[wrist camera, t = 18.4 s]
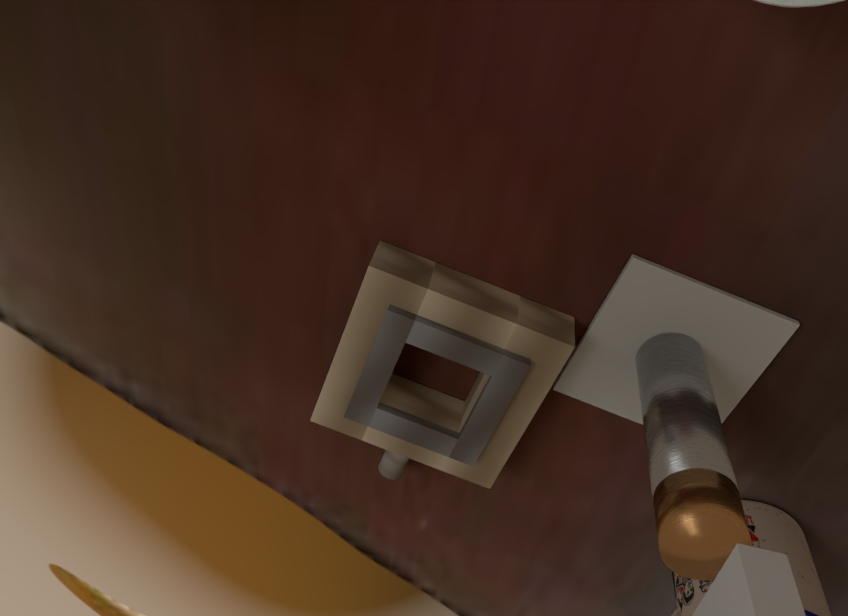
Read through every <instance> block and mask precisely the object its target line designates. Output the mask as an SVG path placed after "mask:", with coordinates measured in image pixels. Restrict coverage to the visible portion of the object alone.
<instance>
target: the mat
mask: <svg viewBox="0 0 848 616" xmlns="http://www.w3.org/2000/svg"><path fill="white" fill-rule="evenodd" d="M799 326H800V324H799V322H798V321H797V320H794V319H792V318H789V317H787V316H784V315H782V314H779V313H777V312H774V311H772V310H770V309H767V308H765V307H762V306H760V305H757V304H755V303H752V302H750V301H747V300H745V299H742V298H740V297H737V296H735V295H733V294H730V293H728V292H725V291H723V290H720V289H718V288H715V287H713V286H710V285H708V284H705V283H703V282H701V281H698V280H696V279H693V278H691V277H688V276H686V275H683V274H681V273H678V272H676V271H673V270H671V269H668V268H666V267H664V266H661V265H659V264H656V263H654V262H651V261H649V260H646V259H644V258H641V257H639V256H636V255H634V254H632V255H631V257H630V259H629V260H628V262H627V264H626V265H625V267H624V269H623V270H622V272H621V274H620V275H619V277H618V279H617V280H616V282H615V284H614V285H613V287H612V289H611V290H610V292H609V294H608V295H607V297H606V299H605V300H604V302H603V304H602V305H601V307H600V309H599V310H598V312H597V314H596V315H595V317H594V319H593V320H592V322H591V324H590V325H589V327H588V329H587V330H586V332H585V334H584V335H583V337H582V339H581V340H580V342H579V344H578V345H577V347H576V348H575V350H574V352H573V353H572V355H571V357H570V358H569V360H568V362H567V363H566V365H565V367H564V368H563V370H562V372H561V373H560V375H559V377H558V378H557V380H556V382H555V383H554V385H553V390H555V391H558V392H560V393H563V394H565V395H568V396H570V397H573V398H575V399H578V400H581V401H583V402H586V403H588V404H591V405H593V406H596V407H599V408H601V409H604V410H606V411H609V412H611V413H614V414H616V415H619V416H622V417H624V418H627V419H629V420H632V421H634V422H637V423H640V424H642V425H643V418H642V410H641V402H640V394H639V386H638V378H637V370H636V354H637V352H638V350H639V348H640V347H641V345H642V344H643V343H644V342H645V341H647V340H648V339H649V338H651V337H653V336H655V335H658V334H662V333H668V332H675V333H682V334H685V335H687V336H690V337H691V338H693V339H694V340H696V341H697V342H698V343H699V345H700V346H701V348H702V350H703V353H704V356H705V360H706V364H707V368H708V372H709V376H710V380H711V384H712V388H713V392H714V396H715V400H716V404H717V407H718V411H719V415H720V419H721V423H723V422H724V420H725V419H726V418H727V417H728V415H729V414H730V413H731V412H732V410H733V409H734V408H735V407H736V405H737V404H738V403H739V401H740V400H741V399H742V398H743V396H744V395H745V394H746V393H747V391H748V390H749V389H750V388H751V386H752V385H753V384H754V383H755V381H756V380H757V379H758V378H759V376H760V375H761V374H762V373H763V371H764V370H765V369H766V367H767V366H768V365H769V364H770V362H771V361H772V360H773V359H774V357H775V356H776V355H777V354H778V352H779V351H780V350H781V349H782V347H783V346H784V345H785V344H786V342H787V341H788V340H789V339H790V337H791V336H792V335H793V333H794V332H795V331H796V330H797V328H798V327H799Z"/></svg>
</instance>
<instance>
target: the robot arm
mask: <svg viewBox="0 0 848 616" xmlns="http://www.w3.org/2000/svg"><path fill="white" fill-rule="evenodd" d="M692 616H806V615H805V612H804V609H803V606H802V603H801V599H800V596H799V593H798V590H797V587H796V583H795V580H794V577H793V574H792V571H791V567H790V564H789V561H788V558H787V555H786V554H782V553H777V552H773V551H769V550H765V549H760V548H756V547H752V546H747V545H743V544H739V543H737V544H736V546H735V548H734V549H733V551H732V552H731V554H730V556H729V557H728V559H727V560H726V562H725V564H724V565H723V567H722V568H721V570H720V572H719V573H718V575H717V576H716V578H715V580H714V581H713V583H712V584H711V586H710V588H709V589H708V591H707V592H706V594H705V596H704V597H703V599H702V600H701V602H700V604H699V605H698V607H697V608H696V610H695V612H694V613H693V615H692Z"/></svg>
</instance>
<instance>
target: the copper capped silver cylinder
mask: <svg viewBox="0 0 848 616" xmlns="http://www.w3.org/2000/svg"><path fill="white" fill-rule="evenodd" d="M636 370H637V378H638V386H639V394H640V402H641V410H642V418H643V426H644V434H645V441H646V449H647V457H648V465H649V473H650V481H651V489H652V497H653V505H654V513H655V521H656V529H657V537H658V545H659V552H660V556H661V559H662V561H663V562H664V564H665V565H666V566H667V567H668V568H669V569H670V570H672V571H673V572H675V573H677V574H679V575H681V576H683V577H686V578H690V579H695V580H715V578H716V576H717V575H718V573H719V572H720V570H721V568H722V567H723V565H724V564H725V562H726V560H727V559H728V557H729V556H730V554H731V552H732V551H733V549H734V548H735V546H736V544H737V543H739V544H743V545H747V546H752V547H753V545H752V541H751V537H750V533H749V529H748V525H747V522H746V518H745V514H744V510H743V506H742V502H741V498H740V494H739V490H738V486H737V482H736V478H735V474H734V470H733V466H732V463H731V459H730V455H729V451H728V447H727V443H726V439H725V435H724V431H723V427H722V423H721V419H720V415H719V411H718V407H717V404H716V400H715V396H714V392H713V388H712V384H711V380H710V376H709V372H708V368H707V364H706V360H705V356H704V353H703V350H702V348H701V346H700V345H699V343H698V342H697V341H696V340H694V339H693V338H691V337H690V336H687V335H685V334H682V333H675V332H668V333H662V334H658V335H655V336H653V337H651V338H649V339H648V340H647V341H645V342H644V343H643V344H642V345H641V347H640V348H639V350H638V352H637V354H636Z"/></svg>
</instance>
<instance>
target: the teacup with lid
mask: <svg viewBox="0 0 848 616" xmlns="http://www.w3.org/2000/svg"><path fill="white" fill-rule="evenodd" d="M741 502H742V506H743V510H744V514H745V518H746V522H747V525H748V529H749V533H750V537H751V541H752V545H753V547H756V548H760V549H765V550H769V551H773V552H777V553H782V554H786V555H787V558H788V561H789V564H790V567H791V571H792V574H793V577H794V580H795V583H796V587H797V590H798V593H799V596H800V599H801V603H802V606H803V609H804V612H805V615H806V616H831V614H830V611H829V607H828V604H827V601H826V598H825V595H824V592H823V589H822V586H821V583H820V580H819V577H818V574H817V571H816V568H815V565H814V562H813V559H812V556H811V553H810V550H809V547H808V544H807V541H806V538H805V535H804V533H803V531H802V529H801V527H800V526H799V525H798V523H797V522H796V521H795V520H794V519H793V518H792V517H791V516H789V515H788V514H787V513H785V512H784V511H782V510H780V509H778V508H776V507H773V506H771V505H768V504H765V503H761V502H756V501H750V500H741ZM672 576H673V583H674V590H675V597H676V604H677V609H676V610H675V611H674V612H673V613H672V614H671V616H692V615H693V613H694V612H695V610H696V608H697V607H698V605H699V604H700V602H701V600H702V599H703V597H704V596H705V594H706V592H707V591H708V589H709V588H710V586H711V584H712V583H713V581H714V580H695V579H690V578H686V577H683V576H681V575H679V574H677V573H675V572H673V571H672Z"/></svg>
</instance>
